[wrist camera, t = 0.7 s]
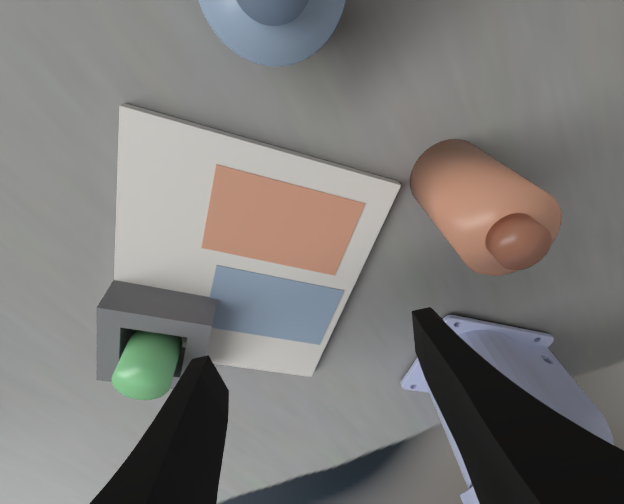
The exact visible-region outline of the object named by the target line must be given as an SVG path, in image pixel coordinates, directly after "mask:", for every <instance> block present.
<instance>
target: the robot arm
mask: <svg viewBox="0 0 624 504" xmlns="http://www.w3.org/2000/svg"><path fill="white" fill-rule="evenodd" d="M412 318H413V330H414V341H415V351H416V354H417V359H416V360H415V362H414V363H413V365H412V366H411V368H410V369H409V371H408V372H407V374H406V375H405V377H404V378H403V380H402V381H401V386H402V388H403V389H407V390H414V391H421V392H429V393H430V396H431V398H432V401H433V403H434V406H435V408H436V410H437V413H438V415H439V418H440V420H441V423H442V425H443V427H444V430H445V432H446V435H447V437H448V440H449V442H450V445H451V447H452V449H453V452H454V454H455V457H456V459H457V462H458V464H459V467H460V469H461V472H462V474H463V476H464V479H465V481H466V483H467V486H468V488H469V490H467V491H466V492H464V493H462V494H461V496H460V497H461V499H462V502H463V504H624V451H623V450H622V449H619V448H618V447H616V446H614V442H613V438H612V434H611V431H610V429H609V426H608V424H607V422H606V420H605V418H604V416H603V415H602V414H601V412H600V411H599V410H598V408H597V407H596V406H595V405H594V404H593V402H592V401H591V400H590V399H589V397H588V396H587V395H586V394H585V393H584V392H583V390H582V389H581V388H580V387H579V385H578V384H577V383H576V382H575V380H574V379H573V378H572V377H571V376H570V374H569V373H568V372H567V371H566V370H565V368H564V367H563V366H562V365H561V364H560V362H559V361H558V360H557V359H556V357H555V356H554V355H553V354H552V353H551V351H550V350H549V349H548V347H549V346H550V345H551V344H552V343H553V341H554V338H553V337H552V336H551V335H550V334H547V333H542V332H537V331H532V330H527V329H522V328H517V327H512V326H506V325H501V324H496V323H491V322H486V321H481V320H476V319H471V318H466V317H461V316H456V315H447V316H446V317H444V319H443V320H442V318H441V317H440V316H439V315H438V314H437V313H436V312H435V311H434V310H433V309H432V308H430V307H429V308H424V309H419V310H415V311H412ZM456 322H457V323H456ZM228 402H229V390H228V389H227V387H226V385H225V383H224V382H223V380H222V378H221V376H220V375H219V373H218V371H217V369H216V368H215V366H214V364H213V362H212V360H211V359H210V357H209V355H207V356H203V357H198V358H194V359H192V360H191V361H190V363H189V364H188V366H187V368H186V369H185V371H184V372H183V374H182V376H181V377H180V379H179V381H178V382H177V384H176V386H175V387H174V389H173V390H172V392H171V394H170V395H169V397H168V399H167V400H166V402H165V403H164V405H163V407H162V408H161V410H160V411H159V413H158V414H157V416H156V418H155V419H154V421H153V422H152V424H151V425H150V427H149V428H148V429H147V431H146V432H145V434H144V435H143V437H142V438H141V440H140V441H139V443H138V444H137V445H136V447H135V448H134V450H133V451H132V452H131V454H130V455H129V456H128V458H127V459H126V460H125V462H124V463H123V464H122V466H121V467H120V468H119V469H118V471H117V472H116V473H115V474H114V476H113V477H112V478H111V479H110V481H109V482H108V483H107V484H106V485H105V487H104V488H103V489H102V490H101V491H100V492H99V494H98V495H97V496H96V497H95V498H94V499H93V500H92V502H91V503H90V504H216V501H217V492H218V485H219V478H220V471H221V465H222V458H223V451H224V445H225V438H226V431H227V423H228Z"/></svg>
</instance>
